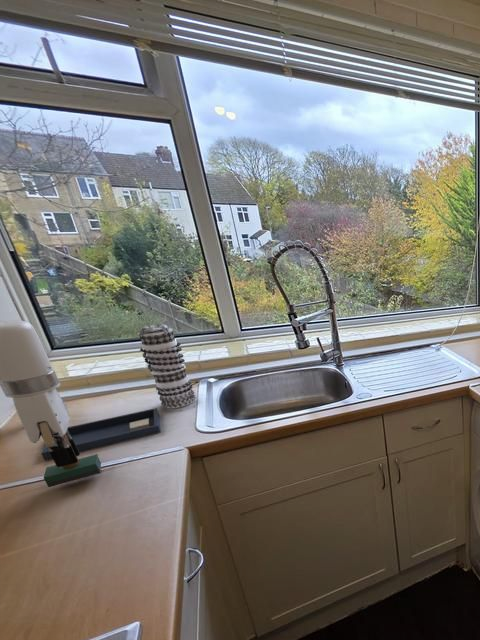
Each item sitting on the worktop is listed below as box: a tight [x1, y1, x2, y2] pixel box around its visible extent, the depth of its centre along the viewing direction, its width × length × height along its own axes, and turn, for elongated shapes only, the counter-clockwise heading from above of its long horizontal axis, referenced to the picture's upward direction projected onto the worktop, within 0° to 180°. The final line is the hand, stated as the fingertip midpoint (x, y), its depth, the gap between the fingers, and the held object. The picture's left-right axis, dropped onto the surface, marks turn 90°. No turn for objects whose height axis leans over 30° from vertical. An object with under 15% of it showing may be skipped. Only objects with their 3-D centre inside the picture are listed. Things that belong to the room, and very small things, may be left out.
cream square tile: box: [130, 419, 150, 431], centre depth 112 cm, size 4×4×1 cm
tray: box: [40, 407, 161, 461], centre depth 108 cm, size 22×14×3 cm, turn 130°
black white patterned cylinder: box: [136, 324, 197, 409], centre depth 121 cm, size 9×9×25 cm
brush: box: [43, 435, 102, 488], centre depth 88 cm, size 8×5×10 cm, turn 132°
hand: (68, 460), depth 88 cm, fingers closed on brush, 2 cm apart
